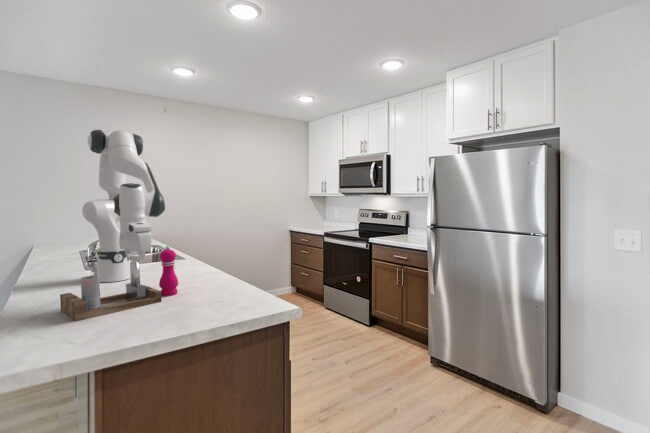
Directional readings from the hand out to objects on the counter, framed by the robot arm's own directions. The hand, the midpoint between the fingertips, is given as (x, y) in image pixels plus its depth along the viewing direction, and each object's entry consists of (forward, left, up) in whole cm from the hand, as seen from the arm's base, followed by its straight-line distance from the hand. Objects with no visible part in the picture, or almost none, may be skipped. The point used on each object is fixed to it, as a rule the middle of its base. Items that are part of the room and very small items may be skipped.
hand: (135, 262), depth 137 cm
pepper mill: (0, +13, -15) cm, 20 cm away
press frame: (0, -8, -15) cm, 17 cm away
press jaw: (0, 0, -15) cm, 15 cm away
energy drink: (0, -15, -15) cm, 22 cm away
